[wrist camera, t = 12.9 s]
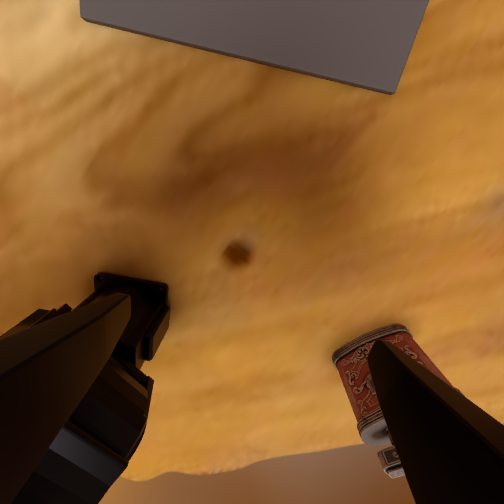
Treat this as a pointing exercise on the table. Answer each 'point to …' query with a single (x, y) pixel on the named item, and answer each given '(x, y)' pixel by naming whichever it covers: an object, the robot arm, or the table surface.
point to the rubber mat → (282, 32)
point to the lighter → (363, 392)
